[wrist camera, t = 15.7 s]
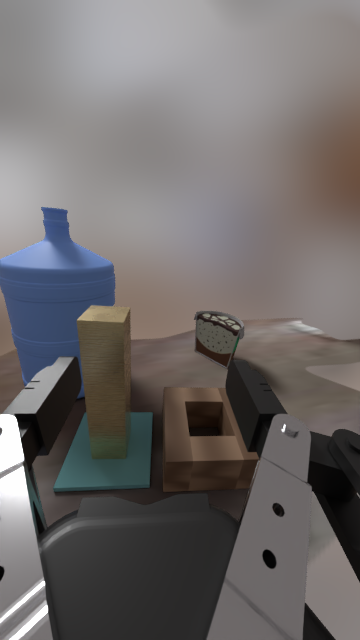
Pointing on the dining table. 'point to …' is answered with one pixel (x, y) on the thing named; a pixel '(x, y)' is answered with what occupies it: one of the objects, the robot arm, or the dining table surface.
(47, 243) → the water jug
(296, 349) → the dining table surface
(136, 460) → the teal mat
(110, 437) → the tan wooden peg
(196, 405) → the socket block
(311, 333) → the dining table surface
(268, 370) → the dining table surface
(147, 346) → the dining table surface
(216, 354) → the food container
